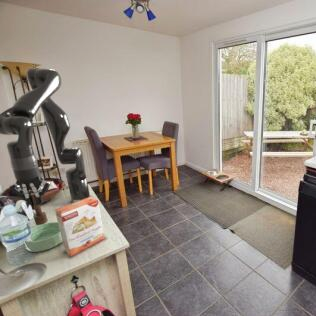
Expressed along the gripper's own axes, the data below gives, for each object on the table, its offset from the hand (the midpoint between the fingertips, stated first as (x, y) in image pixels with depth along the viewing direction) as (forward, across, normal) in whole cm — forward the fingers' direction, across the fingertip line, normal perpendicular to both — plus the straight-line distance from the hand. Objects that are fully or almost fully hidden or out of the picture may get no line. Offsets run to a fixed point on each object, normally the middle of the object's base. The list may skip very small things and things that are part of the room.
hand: (36, 204), depth 94 cm
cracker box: (+19, -17, +7) cm, 27 cm away
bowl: (+19, 0, 0) cm, 19 cm away
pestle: (+9, 0, 0) cm, 9 cm away
